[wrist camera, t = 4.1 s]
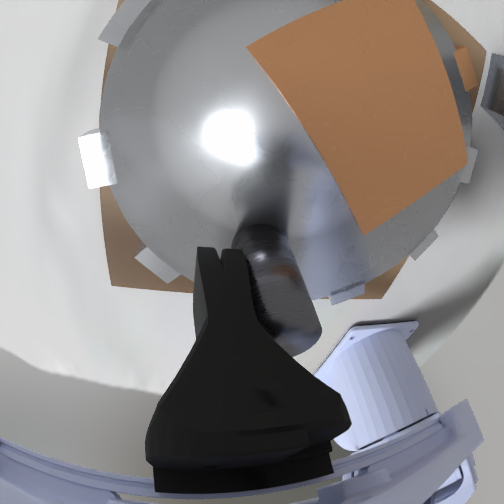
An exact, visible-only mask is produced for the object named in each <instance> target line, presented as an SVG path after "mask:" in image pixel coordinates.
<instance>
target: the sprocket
mask: <svg viewBox="0 0 504 504" xmlns="http://www.w3.org/2000/svg"><path fill="white" fill-rule="evenodd" d="M98 39H99V40H102V41H104V42H107V43H109V44H111V45H114V46H116V47H118V48H117V50H116V52H115V54H114V56H113V59H112V62H111V65H110V68H109V71H108V74H107V77H106V80H105V84H104V88H103V94H102V100H101V107H100V115H99V125H100V128H99V129H95V130H91V131H88V132H87V133H85V134H83V135H82V136H80V137H79V138H78V139H79V144H80V150H81V155H82V159H83V164H84V169H85V173H86V177H87V181H88V185H89V188H95V187H101V186H107V185H110V187H111V190H112V193H113V196H114V198H115V200H116V202H117V204H118V206H119V208H120V210H121V211H122V213H123V215H124V217H125V219H126V220H127V222H128V223H129V225H130V226H131V227H132V229H133V230H134V231H135V233H136V234H137V235H138V237H139V238H140V239H141V242H140V243H139V244H138V247H137V250H136V254H135V257H134V258H135V259H137V260H138V261H139V262H140V263H142V264H143V265H144V266H145V267H147V268H148V269H149V270H150V271H152V272H153V273H154V274H156V275H157V276H158V277H159V278H161V279H162V280H163V281H165V282H166V283H167V284H168V283H170V282H171V281H172V280H174V279H175V278H177V277H178V276H180V275H183V276H185V277H186V278H188V279H190V280H191V281H193V282H194V275H195V264H196V253H197V246H199V247H214V248H215V249H216V250H217V253H218V256H219V258H220V257H221V251H222V250H223V249H225V248H228V249H242V252H243V254H244V256H245V258H246V261H247V266H248V273H249V280H250V286H251V293H252V300H253V305H254V310H255V314H256V317H257V320H258V322H259V323H260V324H261V326H262V327H263V328H264V329H265V330H266V331H267V332H268V334H269V335H270V336H271V337H272V338H273V339H274V340H275V341H276V342H277V343H278V344H279V345H280V346H281V347H282V348H283V349H284V350H285V351H286V352H287V353H288V354H289V355H290V356H291V357H293V356H296V355H299V354H301V353H303V352H305V351H306V350H308V349H309V348H311V347H312V346H313V345H314V344H315V343H316V342H317V341H318V340H319V338H320V336H321V333H322V327H321V325H320V322H319V319H318V316H317V314H316V311H315V308H314V306H313V303H312V300H315V299H319V298H324V297H329V300H330V302H331V304H332V305H335V304H337V303H340V302H343V301H346V300H348V299H351V298H354V297H356V296H359V295H362V294H364V293H365V283H367V282H369V281H371V280H372V279H374V278H376V277H378V276H380V275H382V274H383V273H385V272H386V271H388V270H389V269H391V268H392V267H394V266H395V265H397V264H398V263H399V262H401V261H402V260H403V259H404V258H405V257H407V256H408V255H410V256H411V257H412V258H413V259H414V260H416V259H417V258H418V257H419V256H420V255H421V254H422V253H423V252H424V251H425V250H426V249H427V248H428V247H429V246H430V245H431V244H432V243H433V242H434V241H435V239H436V238H437V237H438V235H437V233H436V232H435V230H434V228H435V227H436V225H437V224H438V223H439V221H440V220H441V218H442V217H443V215H444V214H445V212H446V211H447V209H448V207H449V205H450V203H451V202H452V200H453V198H454V196H455V194H456V192H457V189H458V187H459V184H460V183H466V184H469V182H470V179H471V176H472V172H473V169H474V165H475V162H476V158H477V154H478V150H477V149H475V148H474V147H472V146H470V143H471V134H472V109H471V97H470V92H469V90H470V89H472V88H474V87H475V86H477V85H478V83H477V79H476V76H475V72H474V69H473V65H472V62H471V59H470V56H469V53H468V50H467V48H466V47H463V46H457V45H454V44H453V42H452V40H451V38H450V36H449V35H448V33H447V32H446V30H445V29H444V27H443V26H442V24H441V23H440V21H439V20H438V18H437V17H436V16H435V14H434V13H433V12H432V11H431V10H430V9H429V7H428V6H427V5H426V4H425V3H424V2H423V1H422V0H124V2H123V3H122V4H121V6H120V7H119V8H118V10H117V11H116V12H115V14H114V15H113V17H112V18H111V20H110V21H109V23H108V24H107V25H106V27H105V29H104V30H103V32H102V33H101V35H100V36H99V38H98Z"/></svg>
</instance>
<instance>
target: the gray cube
mask: <svg viewBox="0 0 504 504" xmlns="http://www.w3.org/2000/svg"><path fill="white" fill-rule="evenodd" d="M481 107H482V108H483V109H484V110H485V111H486V112H487V113H488V114H489V115H490V116H491V117H492V118H493V119H494V120H495V121H496V122H497V123H498V124H499V125H500V126H501V127H502V129H503V130H504V56H501V55H497V54H493V53H492V56H491V62H490V68H489V73H488V78H487V82H486V87H485V91H484V95H483V99H482V103H481Z"/></svg>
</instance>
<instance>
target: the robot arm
mask: <svg viewBox="0 0 504 504" xmlns="http://www.w3.org/2000/svg"><path fill="white" fill-rule="evenodd" d="M193 314H194V324H195V333H196V341H195V343H194V345H193V347H192V349H191V351H190V353H189V354H188V356H187V358H186V360H185V361H184V363H183V365H182V367H181V368H180V370H179V372H178V373H177V375H176V377H175V378H174V380H173V381H172V383H171V384H170V386H169V387H168V389H167V390H166V392H165V393H164V395H163V396H162V398H161V399H160V401H159V402H158V404H157V407H156V410H155V413H154V415H153V417H152V420H151V422H150V425H149V427H148V431H147V434H146V440H145V452H146V461H147V462H148V463H150V464H151V465H152V466H153V473H154V478H143V477H136V476H128V475H122V474H115V473H110V472H104V471H99V470H95V469H90V468H86V467H82V466H78V465H74V464H71V463H67V462H64V461H60V460H57V459H54V458H51V457H48V456H45V455H42V454H40V453H37V452H34V451H32V450H29V449H27V448H24V447H22V446H20V445H17V444H15V443H13V442H11V441H8V440H6V439H4V438H2V437H0V504H160V503H151V502H142V501H133V500H123V499H122V498H121V497H120V496H119V495H118V494H117V493H116V492H118V493H124V494H130V495H138V496H146V497H157V498H173V499H217V498H232V497H243V496H252V495H260V494H266V493H273V492H278V491H283V490H289V489H293V488H298V487H302V486H306V485H311V484H314V483H318V482H322V481H325V480H329V479H332V478H335V477H339V476H341V475H343V480H342V481H339V482H336V483H333V484H330V485H327V486H324V487H321V488H318V489H317V494H318V497H317V498H313V499H309V500H305V501H300V502H296V503H291V504H465V502H466V501H467V500H468V499H469V498H470V496H471V495H472V494H473V492H474V491H475V489H476V485H475V484H476V483H477V481H478V479H477V476H476V472H475V468H474V466H475V461H474V458H473V454H472V452H473V451H474V450H475V449H476V448H477V447H478V446H479V445H480V444H481V443H482V442H483V441H484V439H483V436H482V433H481V431H480V428H479V426H478V423H477V421H476V418H475V416H474V414H473V411H472V409H471V407H470V405H469V402H468V400H467V399H465V400H463V401H462V402H460V403H458V404H457V405H455V406H453V407H452V408H450V409H449V410H448V411H446V412H444V413H443V414H441V413H440V412H438V409H437V407H436V404H435V402H434V400H433V398H432V395H431V393H430V391H429V388H428V386H427V384H426V382H425V380H424V377H423V375H422V373H421V371H420V369H419V367H418V365H417V363H416V361H415V359H414V357H413V355H412V353H411V351H410V349H409V347H408V345H407V343H406V340H407V339H408V338H409V337H410V335H411V334H412V333H413V332H414V331H415V330H416V329H417V327H418V326H419V323H418V321H410V322H401V323H391V324H380V325H367V326H355V327H353V328H351V329H350V330H349V331H348V332H347V334H346V335H345V336H344V338H343V339H342V340H341V342H340V343H339V344H338V346H337V347H336V348H335V350H334V351H333V352H332V353H331V355H330V356H329V357H328V359H327V360H326V361H325V362H324V363H323V365H322V366H321V367H320V368H319V370H318V371H317V372H316V373H315V374H314V375H312V374H311V373H310V372H309V371H307V370H306V369H305V368H304V367H303V366H301V365H300V364H299V363H298V362H297V361H296V360H295V359H293V358H292V357H291V356H290V355H289V354H288V353H287V352H286V351H285V350H284V349H283V348H282V347H281V346H280V345H279V344H278V343H277V342H276V341H275V340H274V339H273V338H272V337H271V336H270V335H269V334H268V332H267V331H266V330H265V329H264V328H263V327H262V326H261V324H260V323H259V322H258V320H257V317H256V314H255V310H254V305H253V300H252V293H251V286H250V280H249V273H248V266H247V261H246V258H245V256H244V254H243V252H242V249H228V248H225V249H223V250H222V251H221V257H220V258H219V256H218V253H217V250H216V249H215V248H214V247H199V246H197V253H196V264H195V275H194V289H193ZM437 412H438V413H437ZM332 439H334V440H335V441H336V442H337V443H338V444H339V445H340V446H341V447H342V448H344V449H346V450H350V451H357V452H355V453H352V454H351V455H350V456H348V457H344V458H341V459H338V460H334V461H331V460H330V456H329V452H332V446H331V442H330V441H331V440H332Z"/></svg>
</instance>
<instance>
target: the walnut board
mask: <svg viewBox="0 0 504 504" xmlns="http://www.w3.org/2000/svg"><path fill="white" fill-rule="evenodd" d="M422 1H423V2H424V3H425V4H426V5H427V6H428V7H429V9H430V10H431V11H432V12H433V13H434V14H435V16H436V17H437V18H438V20H439V21H440V23H441V24H442V26H443V27H444V29H445V30H446V32H447V33H448V35H449V36H450V38H451V40H452V42H453V44H454V45H457V46H463V47H466V48H467V50H468V53H469V56H470V59H471V62H472V65H473V69H474V72H475V76H476V79H477V83H478V85H477V86H475V87H474V88H472V89H470V90H469V92H470V97H471V109H472V112H473V109H474V105H475V102H476V98H477V94H478V90H479V86H480V82H481V77H482V73H483V68H484V62H485V57H486V50H485V49H484V48H483V47H482V46H481V45H480V44H479V43H478V42H477V41H476V40H475V39H474V38H473V37H472V36H471V35H470V34H469V33H468V32H467V31H466V30H465V29H464V28H463V27H462V26H461V25H460V24H459V23H458V22H456V21H455V20H454V19H453V18H452V17H451V16H450V15H448V14H447V13H446V12H445V11H444V10H442V9H441V8H440V7H439V6H437V5H436V4H435V3H434V2H432V1H431V0H422ZM123 2H124V0H119V2H118V5H117V9H116V11H117V10H118V8H119V7H120V6H121V4H122V3H123ZM117 48H118V47H116V46H114V45H111V44H109V45H108V51H107V57H106V63H105V70H104V78H103V86H102V94H103V88H104V84H105V80H106V77H107V74H108V71H109V68H110V65H111V62H112V59H113V56H114V54H115V52H116V50H117ZM101 100H102V96H101ZM99 128H100V127H99ZM100 199H101V212H102V223H103V232H104V241H105V248H106V255H107V262H108V268H109V274H110V280H111V285H112V286H120V287H129V288H139V289H149V290H160V291H172V292H185V293H193V289H194V282H193V281H191V280H190V279H188V278H186V277H185V276H183V275H180V276H178V277H177V278H175V279H174V280H172V281H171V282H170V283H168V284H167V283H166V282H165V281H163V280H162V279H161V278H159V277H158V276H157V275H156V274H154V273H153V272H152V271H150V270H149V269H148V268H147V267H145V266H144V265H143V264H142V263H140V262H139V261H138V260H137V259H135V258H134V257H135V254H136V250H137V247H138V244H139V243H140V242H141V239H140V238H139V237H138V235H137V234H136V233H135V231H134V230H133V229H132V227H131V226H130V225H129V223H128V222H127V220H126V219H125V217H124V215H123V213H122V211H121V210H120V208H119V206H118V204H117V202H116V200H115V198H114V196H113V193H112V190H111V187H110V185H107V186H101V187H100ZM408 257H409V255H408V256H407V257H405V258H404V259H403V260H402V261H401V262H399V263H398V264H397V265H395V266H394V267H392V268H391V269H389V270H388V271H386V272H385V273H383V274H382V275H380V276H378V277H376V278H374V279H372V280H371V281H369V282H367V283H365V293H364V294H362V295H359V296H356V297H354V298H351V299H382V298H383V296H384V295H385V293H386V292H387V290H388V289H389V287H390V286H391V284H392V282H393V281H394V279H395V278H396V276H397V275H398V273H399V271H400V270H401V268H402V267H403V265H404V263H405V262H406V260H407V258H408ZM319 299H329V297H324V298H319Z"/></svg>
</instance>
